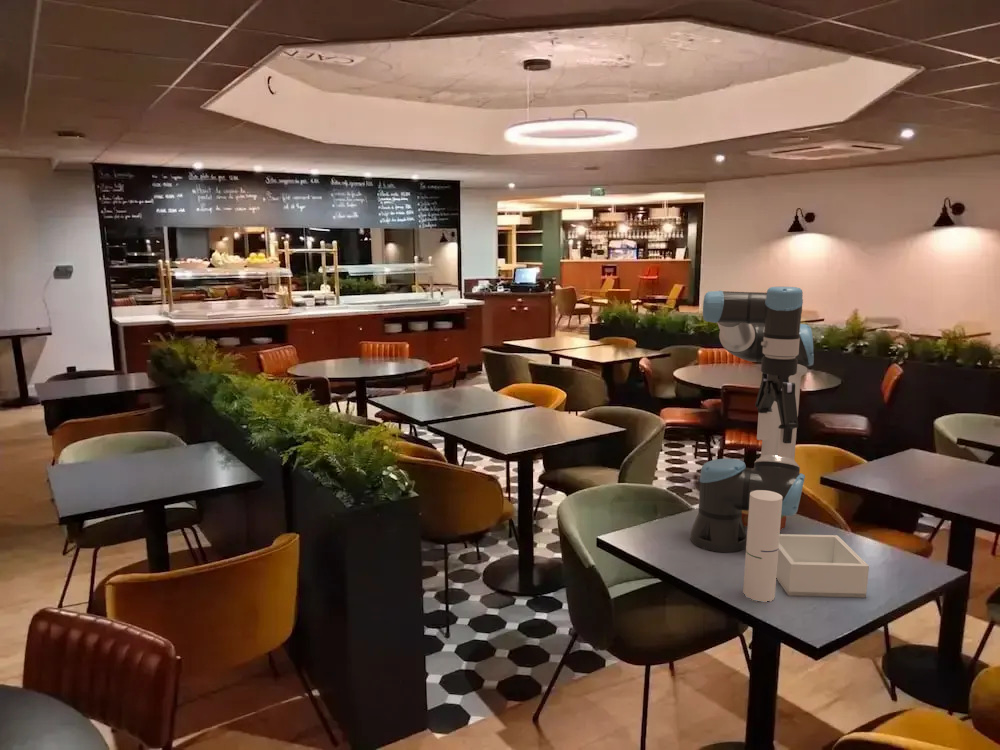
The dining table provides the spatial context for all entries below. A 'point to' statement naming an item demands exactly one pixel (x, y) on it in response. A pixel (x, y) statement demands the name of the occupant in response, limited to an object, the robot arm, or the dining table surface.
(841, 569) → the beige bin
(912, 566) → the dining table surface
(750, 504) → the cylindrical container
